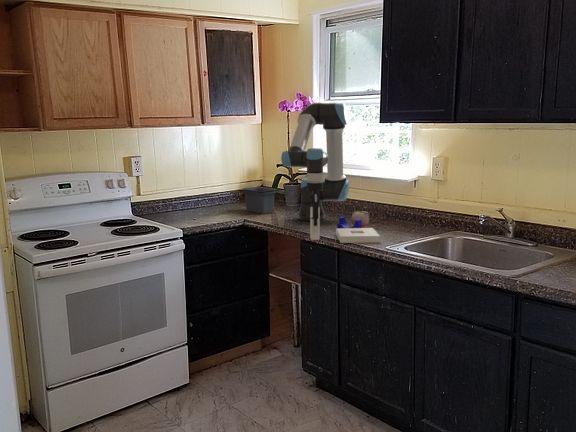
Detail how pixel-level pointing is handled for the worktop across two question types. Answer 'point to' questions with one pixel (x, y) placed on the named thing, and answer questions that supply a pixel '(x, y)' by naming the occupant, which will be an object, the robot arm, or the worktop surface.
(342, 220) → the blue shoe
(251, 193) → the storage bin
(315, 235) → the tube
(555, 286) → the worktop surface
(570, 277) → the worktop surface
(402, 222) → the worktop surface
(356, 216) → the decorative fruit
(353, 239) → the socket block
